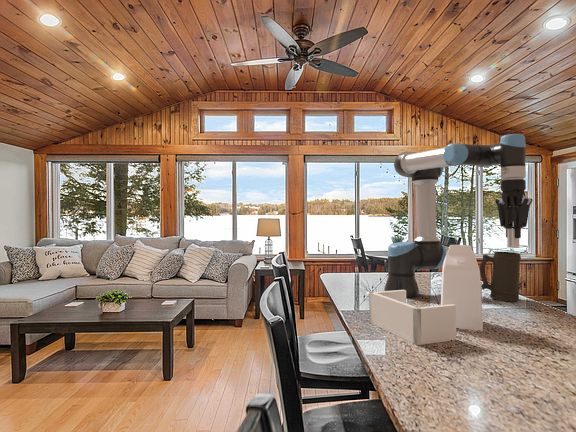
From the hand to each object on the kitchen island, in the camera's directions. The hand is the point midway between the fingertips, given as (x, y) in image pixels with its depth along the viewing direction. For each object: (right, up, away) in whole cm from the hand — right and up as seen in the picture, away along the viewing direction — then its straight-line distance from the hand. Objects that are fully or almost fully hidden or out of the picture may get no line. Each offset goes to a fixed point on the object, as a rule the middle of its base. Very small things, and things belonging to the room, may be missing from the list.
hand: (513, 247), depth 137 cm
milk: (-22, -25, -7) cm, 34 cm away
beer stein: (+11, -24, +29) cm, 40 cm away
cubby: (-41, -25, -14) cm, 49 cm away
